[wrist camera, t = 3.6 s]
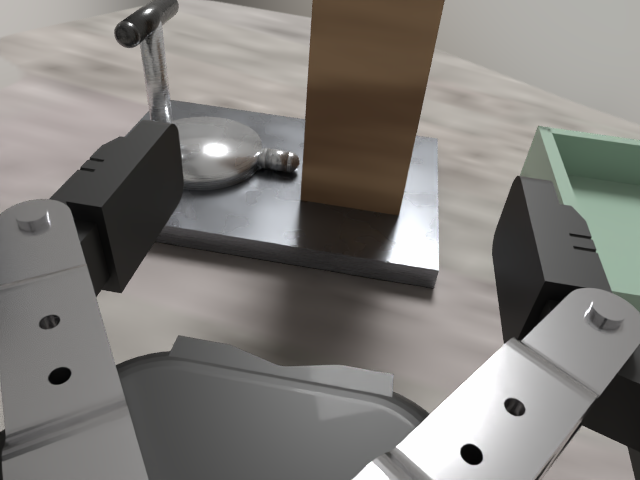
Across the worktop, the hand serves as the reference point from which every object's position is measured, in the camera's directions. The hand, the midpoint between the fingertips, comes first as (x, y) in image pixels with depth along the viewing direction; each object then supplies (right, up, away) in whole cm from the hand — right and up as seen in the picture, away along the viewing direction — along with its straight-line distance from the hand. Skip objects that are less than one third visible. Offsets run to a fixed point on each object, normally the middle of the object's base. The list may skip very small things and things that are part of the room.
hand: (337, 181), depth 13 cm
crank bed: (-3, +1, +14) cm, 14 cm away
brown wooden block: (+1, +1, +13) cm, 13 cm away
